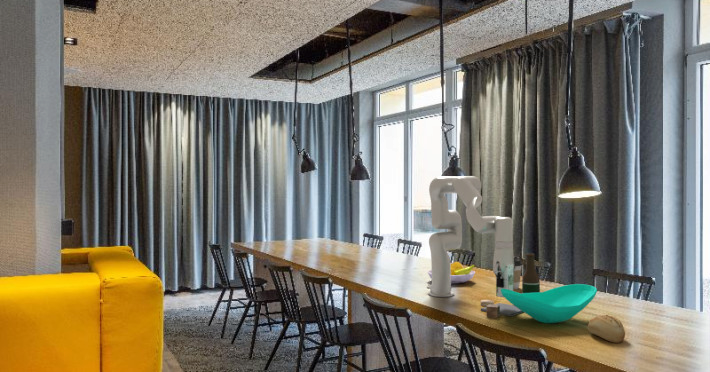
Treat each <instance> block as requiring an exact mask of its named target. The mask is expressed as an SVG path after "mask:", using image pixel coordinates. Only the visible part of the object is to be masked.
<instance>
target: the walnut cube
mask: <svg viewBox="0 0 710 372" xmlns="http://www.w3.org/2000/svg"><path fill="white" fill-rule="evenodd" d="M485 307H486V318H494V319H498V318H499V317H500V316H501V314H500V305H495V304H494V305H492V304H489V305H488V306H485Z"/></svg>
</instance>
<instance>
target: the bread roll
mask: <svg viewBox="0 0 710 372" xmlns="http://www.w3.org/2000/svg"><path fill="white" fill-rule="evenodd" d="M587 330H588V331H589V332H590V333H591V334H593V335H595V336H598V337H600V338H601V339H604V340H606V341H608V342H610V343H616V344H619V343H622V342H623V341H624V340H625V337H626V331H625V327H624V325H623V322H622V321H621V320H620V319H618V318H616V317H615V316H611V315H607V314H605V315H603V314H602V315H599V316H595V317H593V318H591V319H590V320H589V322H588V324H587Z"/></svg>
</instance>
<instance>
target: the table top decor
mask: <svg viewBox="0 0 710 372" xmlns="http://www.w3.org/2000/svg"><path fill="white" fill-rule="evenodd" d="M597 292H598V289H597V287H595V286H593V285H589V284H583V283H582V284H581V283H574V284H565V285H561V286H557V287H553V288H550V289H548V290H545V291H540V292H536V293H522V292H521V293H520V292H517V291H512V290H508V289H501V293H502V295H503V296H504V297H503V298H504V299H506V300H507V302H509V303H510V304H511V305H514V306H516V307H517V308H519V309H520V310H522V311H523V313H525V314H526V315H527V316H529V317H531V319H534V320H535V321H537V322H540V323H545V324H556V323H562V322H566V321H568V320H571V319H572V318H573V317H575V316H576V315H577V314H579V313H580V312H581V311H583V310H584V309H585V308H586V307H587V306H588V305H589V304H590V303H591V302H593V300H594V298H595V297H596V294H597Z"/></svg>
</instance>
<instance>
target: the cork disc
mask: <svg viewBox="0 0 710 372" xmlns="http://www.w3.org/2000/svg"><path fill="white" fill-rule="evenodd" d="M489 304H492V305H495V301H494V300H492V299H481V300H480V306H481V307H486V306H488V305H489Z"/></svg>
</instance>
